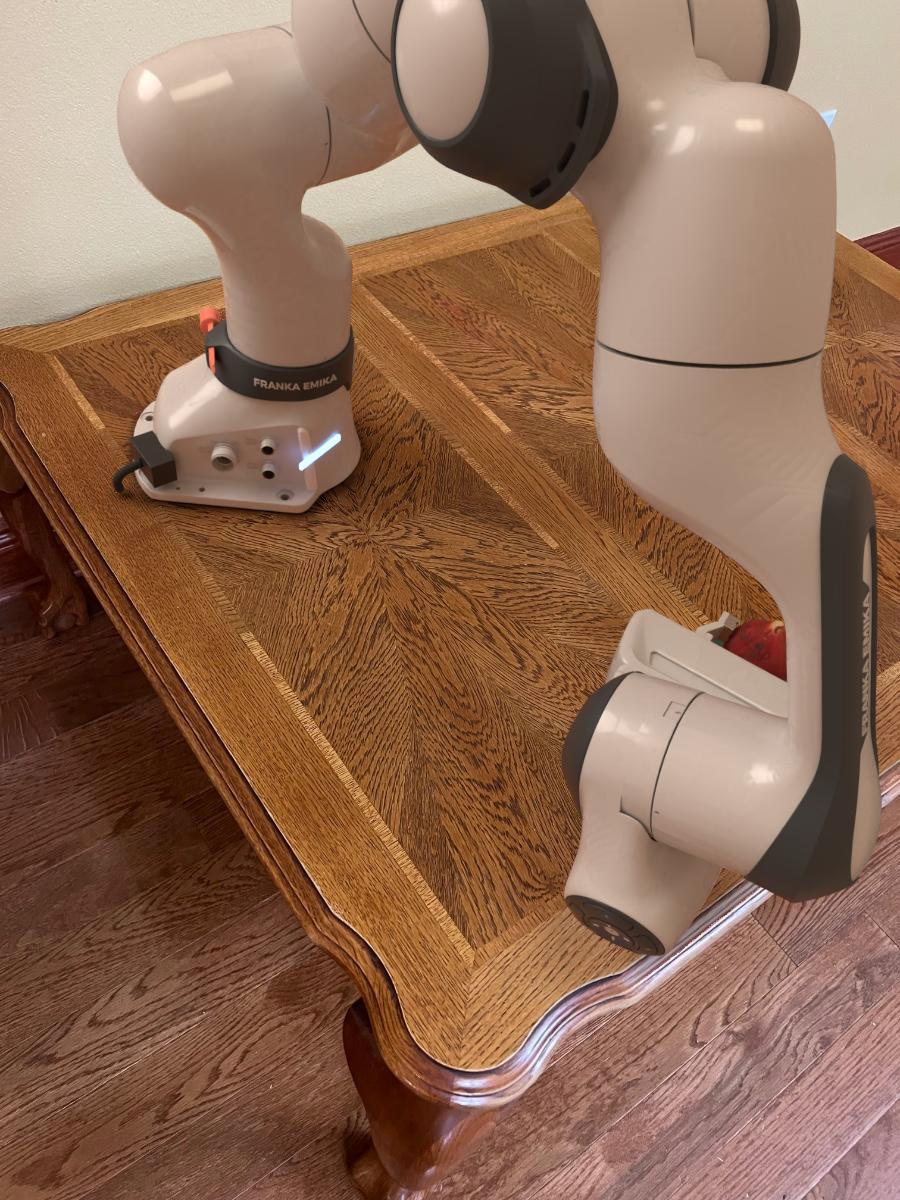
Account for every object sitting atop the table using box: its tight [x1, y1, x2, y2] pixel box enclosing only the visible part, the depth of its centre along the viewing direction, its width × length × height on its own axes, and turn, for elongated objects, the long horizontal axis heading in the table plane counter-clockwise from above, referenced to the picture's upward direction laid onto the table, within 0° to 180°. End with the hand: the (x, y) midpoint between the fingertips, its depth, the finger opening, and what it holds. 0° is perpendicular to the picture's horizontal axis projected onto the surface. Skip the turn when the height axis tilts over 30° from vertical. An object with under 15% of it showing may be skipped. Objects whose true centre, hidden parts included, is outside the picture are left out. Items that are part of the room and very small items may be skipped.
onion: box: [723, 618, 787, 681], centre depth 78 cm, size 6×6×8 cm
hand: (767, 639), depth 77 cm, fingers closed on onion, 5 cm apart
